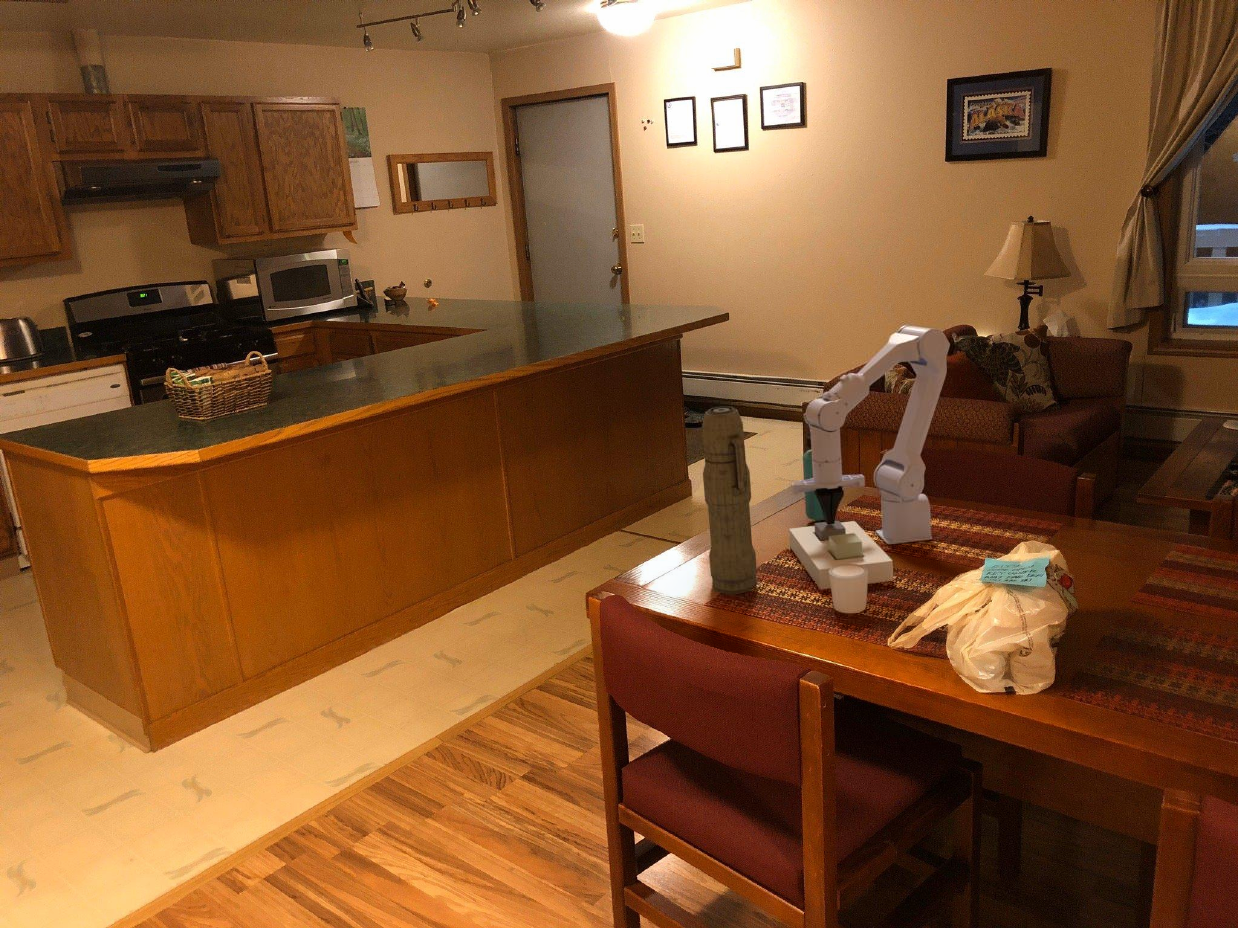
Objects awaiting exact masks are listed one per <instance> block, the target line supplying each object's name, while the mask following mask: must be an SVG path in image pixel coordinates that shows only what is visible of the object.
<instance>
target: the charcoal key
mask: <svg viewBox="0 0 1238 928" xmlns="http://www.w3.org/2000/svg"><path fill="white" fill-rule="evenodd" d="M841 523H842V522H841V521H839V520H835V523H834V524H831V525H828V524H827V523H826V522H825V521H822V522H815V523H814V526H815V536H816V537H817V538H818V539H819V541H827V540H829V536H833V535H842V534H846V530H845V527H844V526H843V525H842V524H841Z"/></svg>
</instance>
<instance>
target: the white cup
mask: <svg viewBox="0 0 1238 928" xmlns="http://www.w3.org/2000/svg"><path fill="white" fill-rule="evenodd" d="M829 577H830V584H831V588H830V590H831V595H832V602H833V603H832V604H833V608H834V610H836V611H837V612H839V613H844V614H856V613H861V612H862V611H864V610H866V608H867V600H868V599H867V597H868V596H867V595H868V584H867V582H868V569H867V568H866V567H864V566H861V565H858V564H841V565H836V566H834V567H831V568H830V569H829Z"/></svg>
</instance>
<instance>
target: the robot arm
mask: <svg viewBox="0 0 1238 928" xmlns="http://www.w3.org/2000/svg"><path fill="white" fill-rule="evenodd" d="M950 346H951V343H950V342H949V340H948V338H947V336H946V335H945V333H944V332H943V331H942V330H941V329H939V328H935V327H933V328H929V327H924V326H923V327H921V326H915V325H912V324H906V325H902V326H901V327H900V328H898V329H897V331H896V332H895V333H892V334H891V335H890V336H889V338H888V341H887V343H885V345H884V346H883V347H882V348H881V349H880V350H879V351H878V352H877V353H876V354H875V355H874V356H873V357H872V358H871V359H870V360H869V361H868V362H867V363H866V364H865V365H864V366H862V368H861V369H860V370H859V371H858V372H857V373H852V372H850V373H847V374H843V375H841V376H840V377H839V380H840V381H838V382H837V383H836V384H835V385H834V386H833V387H832V388H830V389H829V390H828V391H825V392H824V393H823V394H822V397H820V398H815V399H813V400H812V401H811V402H809V404H807V407H806V410H805V413H803V419H804V421H805V423H806V424H807V425H808V427H809V434H810V436H811V447H810V448H811V449H810V450H812V467H813V478H811V479H807V480H800V481H796V482H795V481H794V482H790V487H791V493H792V494H793V495H799V494H800V493H801V494H802V493H805V492H809V491H813V492H814V494H815V495H816V497H817V499H818V501H819V503H820V505H821V508H822V511H823V514H824V518H825V520H824V522H826V523H827V524H828V525H831V524H834V523H835V521H836V517H837V513H838V509H839V506H840V504H841V502H842V500H843V498H844V496H845V490H844V489H843V488H848V487H856V486H857V487H858V486H859V487H865V485H866V482H865V481H866V479H865V476H864V475H863V474H862V473H861V474H843V468H842V450H841V447H842V446H841V428H842V427H843V426H844V424H845V421H846V417H847V415H848V414H849V413H850V412H851V411H852V410H853V409H854V408H855V407H856V406H857V405H859V403H861V402H862V401H863V400H864V399H865V398H867V396H868V395H869V394H870V386H872V384H873V383H875V382H876V381H877V380H879V379H880V378H881V377H883V376H884V375H885V374H887V372H889V371H890V370H892V369H893V368H894V367H895V366H897V365H898V364H899V363H903V362H904V363H905V362H908V364H910V366H911V367H912V369H913V372H915V374H916V375H915V380H914V382H913V385H912V389H911V392H910V396H909V398H908V401H907V405H906V407H905V411H904V414H903V416H902V417H903V418H902V420H901V423H900V426H899V430H898V433H897V436H896V439H895V442H894V446H893V448H891V449H890V450H888V451H886V452H885V453H884V454H883V457H882V460H881V461H880V462H879V464H878V465H877V467H875V470H874V472H873V483H874V485H875V487H877V488H878V489H879V495H880V499H881V500H880V501H881V502H880V503H881V529H877V530H875V533H876V534H877V536H879V538H881V539H882V540H883V541H884V542H885V543H886V544H887V545H896V544H904V543H911V542H912V543H913V542H921V541H929V540H932V539H933V537H932V529H931V528H932V527H931V526H932V525H931V521H932V520H931V519H932V518H931V506H930V505H931V504H930V501H929V499H928V496H927V495H926V494H924V493H922V492H923V490H924V487H925V471H926V465H925V463H924V461H923V459H922V456H921V453H922V451H923V447H924V445H925V441H926V439H927V436H928V432H929V430H930V426H931V424H932V423H931V422H932V421H933V420H932V419H933V417H934V413H935V411H936V407H937V405H938V401H939V398H940V395H941V392H942V388H943V385H944V382H945V380H946V376H947V370H948V369H947V368H948V367H947V366H948V365H947V356H948V352H949V349H950Z"/></svg>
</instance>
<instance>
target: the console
mask: <svg viewBox="0 0 1238 928" xmlns="http://www.w3.org/2000/svg"><path fill="white" fill-rule="evenodd" d="M840 523H841V524H842V525H843V526H844V527H845V530H846V534H850V533H855V535H856V536H857V537H858V538H859V539H860V540H861V541H862V556H861V557H852V558H844V559H836V558H835V557H834V555H833V554H832V553H831V552H830V550H829V540H827V541H819V539H818V538H817V537H816V536H815V525H810V526H802V527H793V528H789V529H788V533H789V535H788V536H789V547H790V548H791V550H792V552H793V553H794V554H795V556H796V558H797V559H798V560H799V562H800V563H801V564H802V566H803V567H804V569H805V570H806V572H807V573H808V575H809V576H810V578H812V579H811V580H813V582H814V581H815V582H814V583H815V585H816V584H817V585H816V586H817V587H818V589H819V590H828V589H831V584H830V577H829V569H830V568H831V567H834V566H836V565H841V564H858V565H861V566H864V567H866V568H867V569H868V582H867V585H868V584H876V583H877V584H878V583H884V582H886V583H887V582H893V581H894V566H893V565H894V563H893V562H894V561H893V559H892V558H890V556H889V555H888V554H887V553H886V552H885V551H884V550H883V549H882V548H881V547H880V546H879V544H877V543H876V541H874V539H872V538H871V536H869V534H868V533H867V532H866V531H865V530H864V529H863V528H862V527H861V526H860V525H859V524H858V523H857V522H856V521H855V520H853V521H844V522H843V521H842V522H840Z"/></svg>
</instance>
